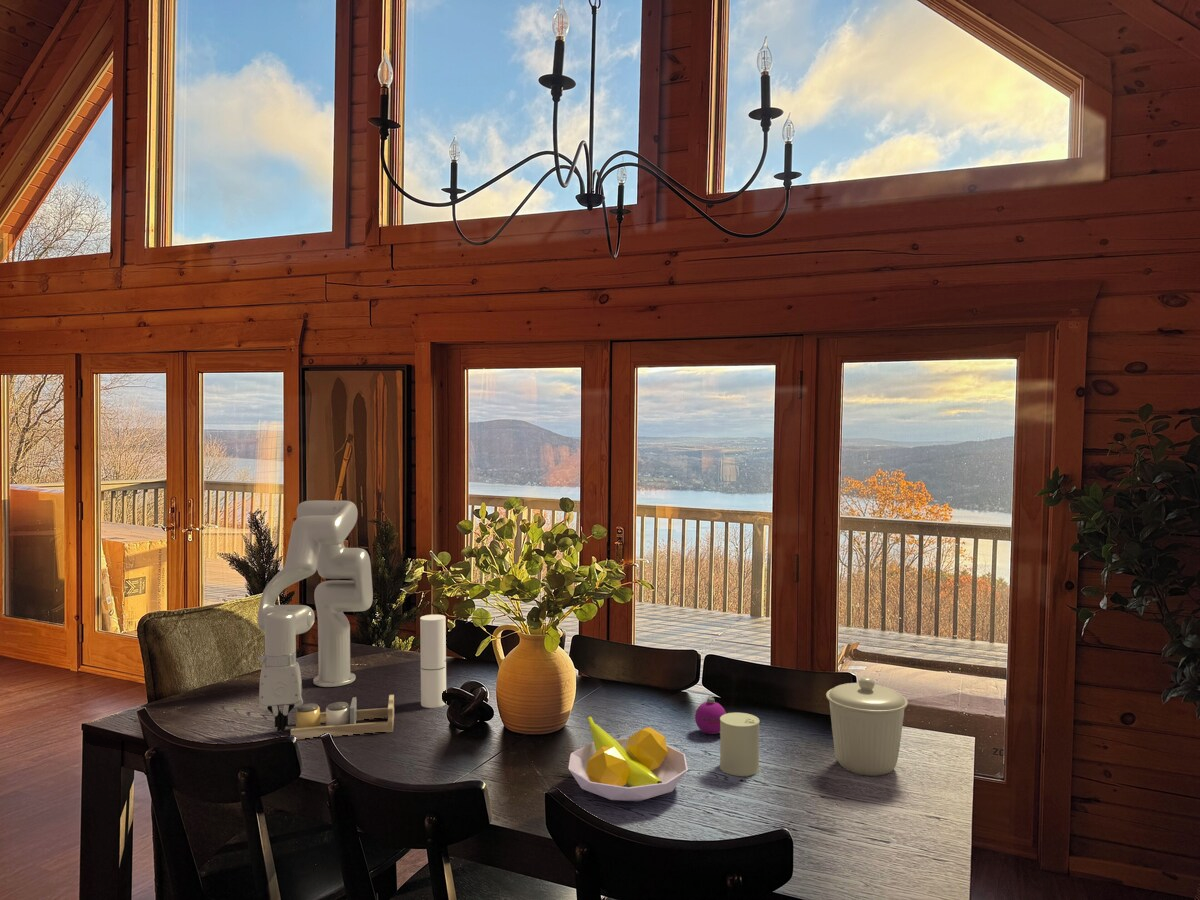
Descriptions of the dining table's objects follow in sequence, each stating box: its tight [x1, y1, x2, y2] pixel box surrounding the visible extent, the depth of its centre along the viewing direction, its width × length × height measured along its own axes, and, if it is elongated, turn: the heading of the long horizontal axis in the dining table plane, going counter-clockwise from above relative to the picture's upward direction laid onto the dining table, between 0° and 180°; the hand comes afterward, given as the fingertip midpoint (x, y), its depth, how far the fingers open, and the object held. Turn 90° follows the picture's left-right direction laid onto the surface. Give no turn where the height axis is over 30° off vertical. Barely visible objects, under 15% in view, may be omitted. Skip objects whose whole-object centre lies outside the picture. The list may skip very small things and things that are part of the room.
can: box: [719, 712, 761, 777], centre depth 191 cm, size 9×9×12 cm
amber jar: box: [294, 702, 321, 728], centre depth 215 cm, size 6×6×6 cm
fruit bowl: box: [568, 716, 689, 802], centre depth 182 cm, size 28×27×11 cm
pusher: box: [350, 696, 358, 724], centre depth 217 cm, size 9×1×6 cm, turn 12°
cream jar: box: [325, 701, 351, 726], centre depth 217 cm, size 6×6×6 cm
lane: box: [290, 694, 395, 740], centre depth 217 cm, size 12×25×6 cm, turn 102°
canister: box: [825, 676, 909, 777], centre depth 191 cm, size 18×18×21 cm
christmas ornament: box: [694, 694, 727, 735], centre depth 213 cm, size 8×8×10 cm
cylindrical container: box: [419, 614, 447, 709], centre depth 235 cm, size 7×7×25 cm
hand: (281, 729), depth 214 cm, fingers closed
